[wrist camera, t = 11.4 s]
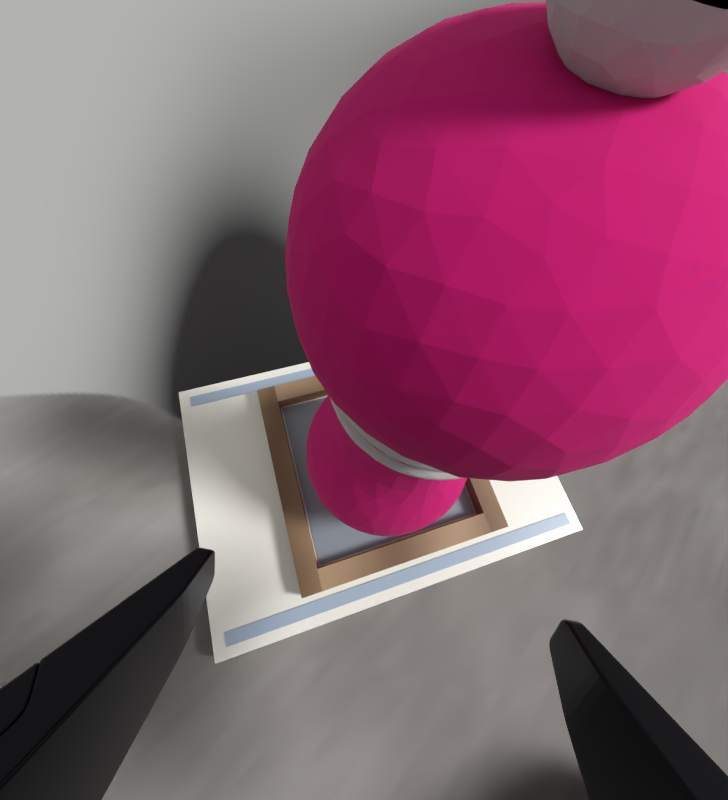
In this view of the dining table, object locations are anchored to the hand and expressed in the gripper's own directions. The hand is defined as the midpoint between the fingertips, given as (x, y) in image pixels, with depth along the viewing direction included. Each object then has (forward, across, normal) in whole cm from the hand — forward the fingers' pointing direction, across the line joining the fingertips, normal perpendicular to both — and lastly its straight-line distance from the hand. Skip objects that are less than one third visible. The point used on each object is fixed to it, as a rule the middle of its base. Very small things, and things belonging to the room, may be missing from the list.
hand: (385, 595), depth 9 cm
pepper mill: (+11, 0, +3) cm, 11 cm away
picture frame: (+12, 0, +4) cm, 12 cm away
